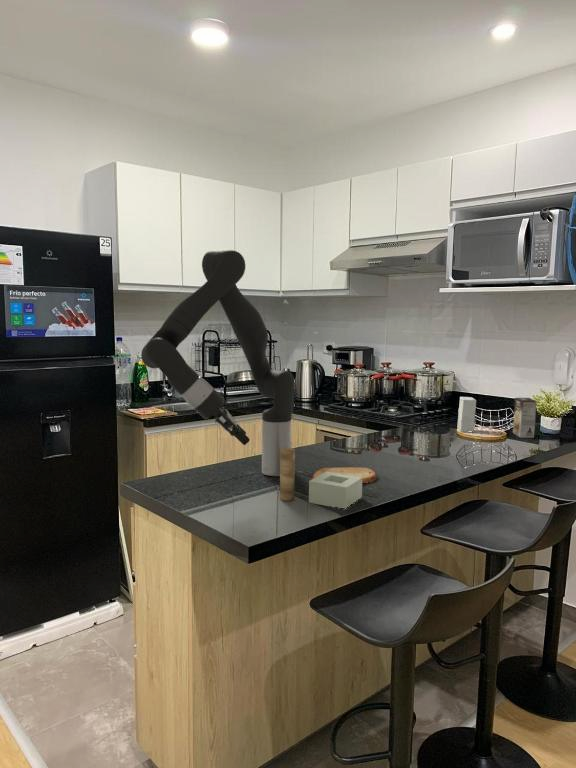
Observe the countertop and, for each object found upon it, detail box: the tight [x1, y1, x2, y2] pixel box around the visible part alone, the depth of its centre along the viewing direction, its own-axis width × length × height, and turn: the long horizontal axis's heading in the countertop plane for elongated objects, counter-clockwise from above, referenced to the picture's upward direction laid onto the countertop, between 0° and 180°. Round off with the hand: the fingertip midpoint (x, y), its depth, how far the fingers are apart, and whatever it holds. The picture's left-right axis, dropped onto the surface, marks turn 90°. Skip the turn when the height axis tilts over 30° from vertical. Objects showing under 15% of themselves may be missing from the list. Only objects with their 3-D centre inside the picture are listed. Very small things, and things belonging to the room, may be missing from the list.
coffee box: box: [512, 397, 537, 439], centre depth 249 cm, size 9×6×16 cm
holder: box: [308, 472, 363, 510], centre depth 159 cm, size 11×11×6 cm
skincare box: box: [456, 396, 477, 433], centre depth 258 cm, size 8×6×15 cm
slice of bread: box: [311, 466, 378, 484], centre depth 180 cm, size 18×18×4 cm
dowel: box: [279, 447, 296, 502], centre depth 159 cm, size 4×4×14 cm
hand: (245, 439), depth 156 cm, fingers open, 8 cm apart
